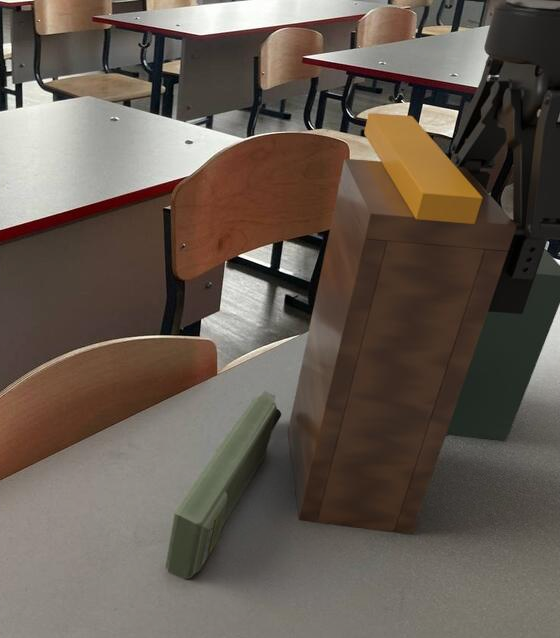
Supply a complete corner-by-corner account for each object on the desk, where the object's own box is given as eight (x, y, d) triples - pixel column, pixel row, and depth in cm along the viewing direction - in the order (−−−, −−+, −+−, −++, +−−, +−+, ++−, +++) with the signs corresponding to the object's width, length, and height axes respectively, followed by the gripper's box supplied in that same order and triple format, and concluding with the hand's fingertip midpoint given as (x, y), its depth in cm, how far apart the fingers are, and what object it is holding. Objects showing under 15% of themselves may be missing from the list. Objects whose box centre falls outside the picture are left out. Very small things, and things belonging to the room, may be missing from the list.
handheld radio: (158, 567, 64) (258, 416, 83) (194, 585, 63) (287, 427, 82) (168, 510, 61) (269, 366, 79) (206, 527, 59) (300, 376, 78)
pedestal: (480, 392, 88) (535, 238, 78) (506, 441, 80) (570, 276, 71) (391, 383, 89) (435, 230, 80) (408, 430, 82) (458, 266, 72)
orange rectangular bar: (407, 136, 72) (412, 115, 71) (474, 224, 53) (483, 197, 52) (363, 133, 73) (368, 112, 72) (415, 219, 54) (422, 192, 53)
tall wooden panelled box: (384, 444, 79) (465, 167, 64) (412, 534, 68) (517, 225, 53) (287, 432, 81) (344, 158, 66) (299, 519, 69) (370, 213, 55)
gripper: (452, -19, 65) (398, 214, 75) (569, 28, 43) (472, 344, 54) (545, -17, 64) (478, 219, 74) (713, 31, 42) (585, 353, 53)
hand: (475, 272), depth 64 cm, fingers open, 13 cm apart
